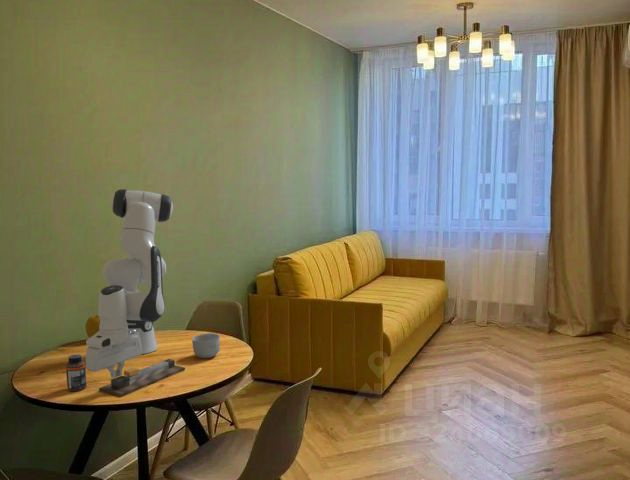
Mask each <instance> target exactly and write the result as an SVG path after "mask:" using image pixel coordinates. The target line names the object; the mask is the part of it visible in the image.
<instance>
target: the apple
mask: <svg viewBox="0 0 630 480" xmlns="http://www.w3.org/2000/svg"><path fill="white" fill-rule="evenodd" d="M99 326H100V318H99V314H93V315H91V316H89V318H88V319H87V320H86V322H85V333H86V335H87V337H88V339H89V338H90V337H92V336H93V335H95V334H96V333H97V332H98V331H100V330H99Z"/></svg>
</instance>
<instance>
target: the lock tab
mask: <svg viewBox="0 0 630 480" xmlns="http://www.w3.org/2000/svg"><path fill="white" fill-rule="evenodd" d="M139 370H140V369H139V368H137V367H130V368H129V369H125V370H123V376H132V375H134V374H137V373H139Z"/></svg>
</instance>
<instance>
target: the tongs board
mask: <svg viewBox="0 0 630 480" xmlns="http://www.w3.org/2000/svg"><path fill="white" fill-rule="evenodd" d="M175 363H176V362H175ZM175 363H174V364H171V365H169V366H166V367H164V368H161V369H159V370H156V371H154V372H151V373H149V374H146V375H144V376H141V377H139V378H136V379H134V380H131V381H129V377H125V376H126V375H120V376H117V377H115V378H112V379H110V383H108V384H105V385H103V386H101V387H98V392H102V393H105V394H110V395H114V396H117V397H121V398H123V397H125V396H127V395H130V394H132V393H134V392H136V391H140V390H141V389H143V388H146V387H149V386H150V385H153V384H154V383H157V382H160V381H163V380H165V379H167V378H169V377H172V376H175V375H177V374H179V373H180V372H183V371H186V367H184V366H180V365H175Z"/></svg>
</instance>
